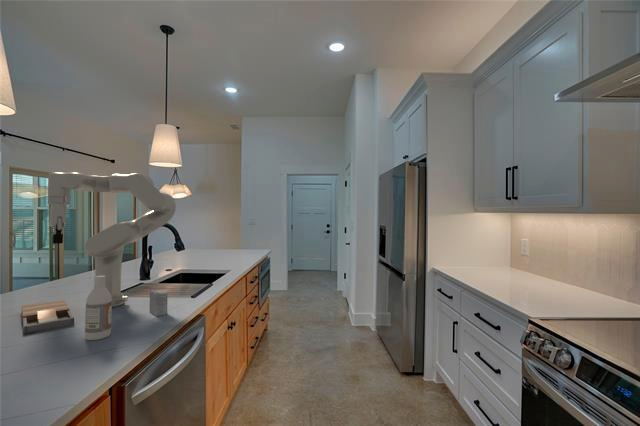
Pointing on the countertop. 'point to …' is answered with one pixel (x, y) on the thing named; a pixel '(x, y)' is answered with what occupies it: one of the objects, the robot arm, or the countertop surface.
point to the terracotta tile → (46, 314)
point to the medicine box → (158, 303)
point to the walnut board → (31, 310)
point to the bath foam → (98, 311)
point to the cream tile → (47, 319)
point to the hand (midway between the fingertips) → (57, 243)
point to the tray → (48, 324)
